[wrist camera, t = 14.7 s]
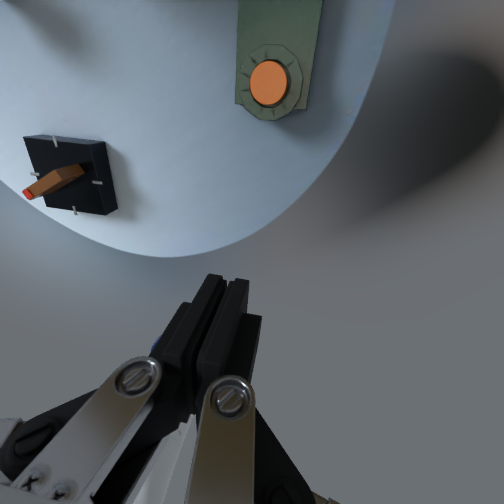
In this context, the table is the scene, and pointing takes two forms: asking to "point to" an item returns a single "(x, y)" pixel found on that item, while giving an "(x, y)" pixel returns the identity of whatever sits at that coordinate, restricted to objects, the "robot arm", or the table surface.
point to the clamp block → (84, 187)
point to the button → (268, 83)
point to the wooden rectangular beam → (53, 181)
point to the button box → (276, 50)
